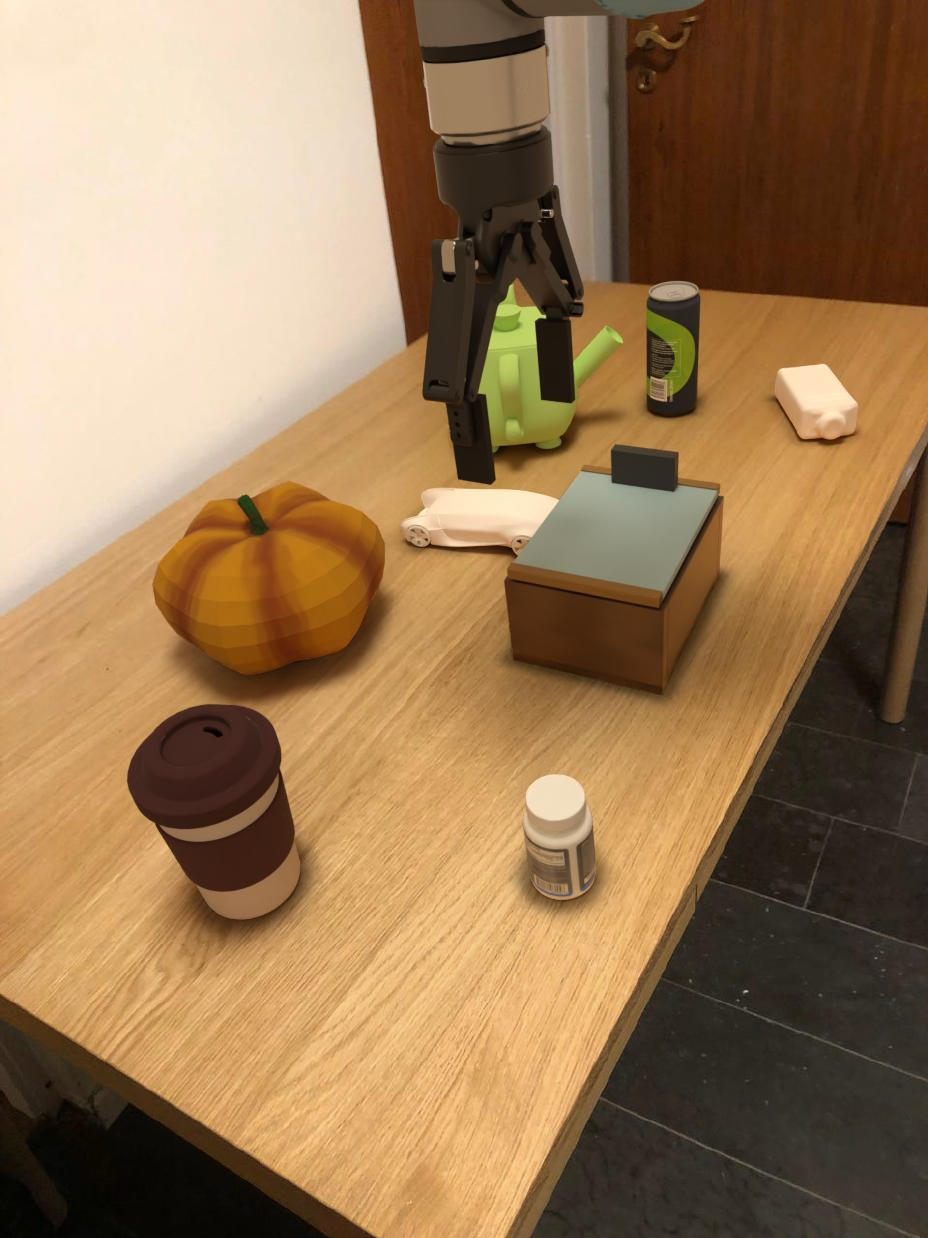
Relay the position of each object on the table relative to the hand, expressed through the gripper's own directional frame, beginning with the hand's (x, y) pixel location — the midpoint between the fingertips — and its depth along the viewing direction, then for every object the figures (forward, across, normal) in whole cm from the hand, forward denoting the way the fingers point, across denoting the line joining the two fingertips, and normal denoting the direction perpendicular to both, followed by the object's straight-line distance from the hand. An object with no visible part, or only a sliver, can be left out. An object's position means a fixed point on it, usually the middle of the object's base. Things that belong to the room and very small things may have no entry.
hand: (520, 437), depth 73 cm
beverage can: (+22, -50, -6) cm, 55 cm away
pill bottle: (+23, +20, +11) cm, 32 cm away
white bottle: (+22, -52, +11) cm, 58 cm away
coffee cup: (+23, +30, -9) cm, 39 cm away
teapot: (+21, -42, -21) cm, 51 cm away
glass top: (+13, -9, +4) cm, 16 cm away
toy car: (+22, -17, -15) cm, 32 cm away
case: (+22, -9, +4) cm, 24 cm away
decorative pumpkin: (+22, +4, -26) cm, 34 cm away
